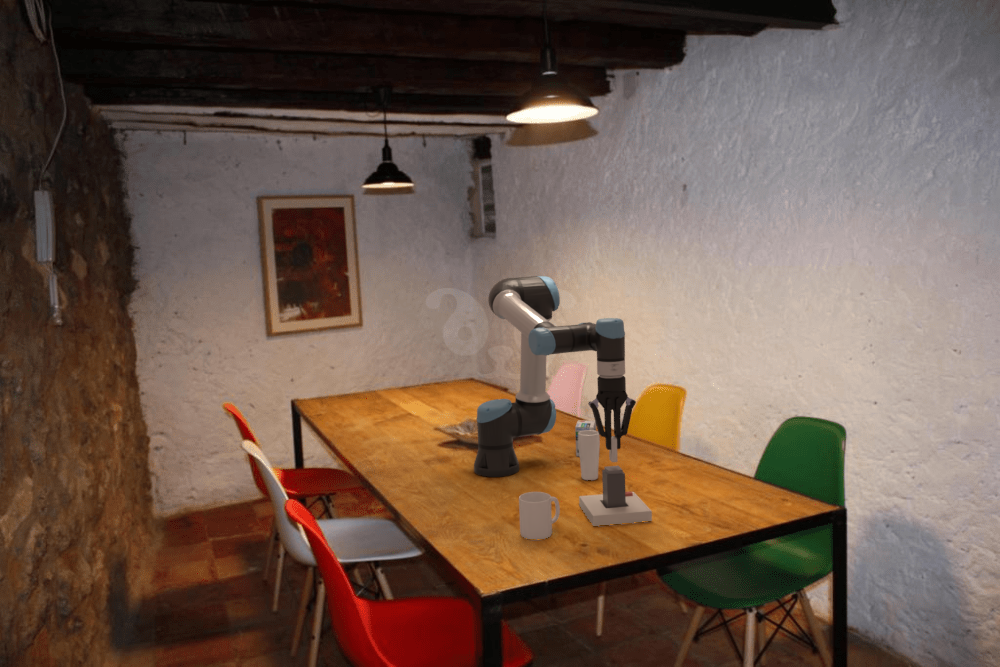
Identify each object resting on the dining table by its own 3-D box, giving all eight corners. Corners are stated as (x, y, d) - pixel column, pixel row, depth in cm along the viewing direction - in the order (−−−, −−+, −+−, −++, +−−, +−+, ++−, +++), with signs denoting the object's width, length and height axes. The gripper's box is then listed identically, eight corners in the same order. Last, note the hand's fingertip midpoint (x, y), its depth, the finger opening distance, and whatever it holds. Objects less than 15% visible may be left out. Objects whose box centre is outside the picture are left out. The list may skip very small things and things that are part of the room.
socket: (593, 526, 197) (593, 513, 197) (579, 506, 213) (579, 493, 213) (651, 521, 199) (651, 508, 199) (633, 501, 215) (633, 489, 215)
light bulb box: (594, 457, 261) (594, 427, 260) (575, 457, 263) (574, 427, 261) (597, 449, 272) (596, 419, 270) (578, 448, 273) (577, 419, 272)
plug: (608, 517, 203) (606, 471, 202) (603, 511, 208) (602, 466, 207) (625, 516, 204) (624, 470, 203) (620, 510, 209) (619, 464, 207)
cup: (514, 533, 195) (512, 496, 194) (550, 522, 201) (549, 486, 200) (532, 543, 188) (531, 504, 187) (569, 531, 195) (568, 494, 193)
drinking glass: (602, 476, 240) (601, 430, 238) (598, 482, 234) (597, 435, 232) (581, 474, 242) (580, 429, 240) (577, 481, 236) (575, 434, 234)
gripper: (591, 379, 197) (593, 466, 200) (639, 376, 199) (640, 462, 201) (584, 374, 205) (586, 458, 207) (630, 372, 206) (632, 455, 209)
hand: (613, 460), depth 204 cm, fingers closed
